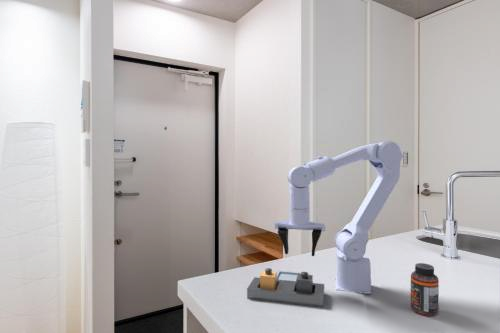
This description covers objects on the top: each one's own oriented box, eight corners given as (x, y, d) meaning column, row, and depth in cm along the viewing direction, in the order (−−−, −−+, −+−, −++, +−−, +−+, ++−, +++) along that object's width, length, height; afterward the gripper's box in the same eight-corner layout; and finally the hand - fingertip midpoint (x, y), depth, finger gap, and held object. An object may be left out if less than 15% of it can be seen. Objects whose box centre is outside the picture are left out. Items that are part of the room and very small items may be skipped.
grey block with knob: (312, 296, 82) (312, 270, 82) (311, 303, 78) (311, 276, 78) (298, 295, 83) (297, 269, 83) (296, 302, 79) (296, 275, 79)
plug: (277, 292, 85) (276, 267, 85) (274, 298, 81) (274, 272, 81) (263, 291, 86) (263, 266, 86) (260, 297, 82) (259, 271, 82)
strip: (324, 294, 83) (324, 284, 83) (323, 308, 75) (323, 296, 75) (254, 287, 88) (254, 277, 88) (247, 299, 81) (247, 288, 81)
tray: (310, 276, 96) (310, 273, 96) (307, 290, 86) (307, 286, 86) (277, 273, 99) (277, 270, 99) (271, 286, 89) (271, 283, 89)
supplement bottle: (405, 305, 77) (405, 261, 76) (427, 304, 77) (427, 260, 77) (420, 318, 71) (420, 270, 70) (444, 316, 71) (444, 269, 71)
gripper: (325, 206, 89) (325, 251, 90) (277, 205, 93) (277, 248, 93) (324, 210, 82) (325, 259, 83) (273, 208, 86) (273, 255, 87)
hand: (299, 254), depth 88 cm, fingers open, 7 cm apart
